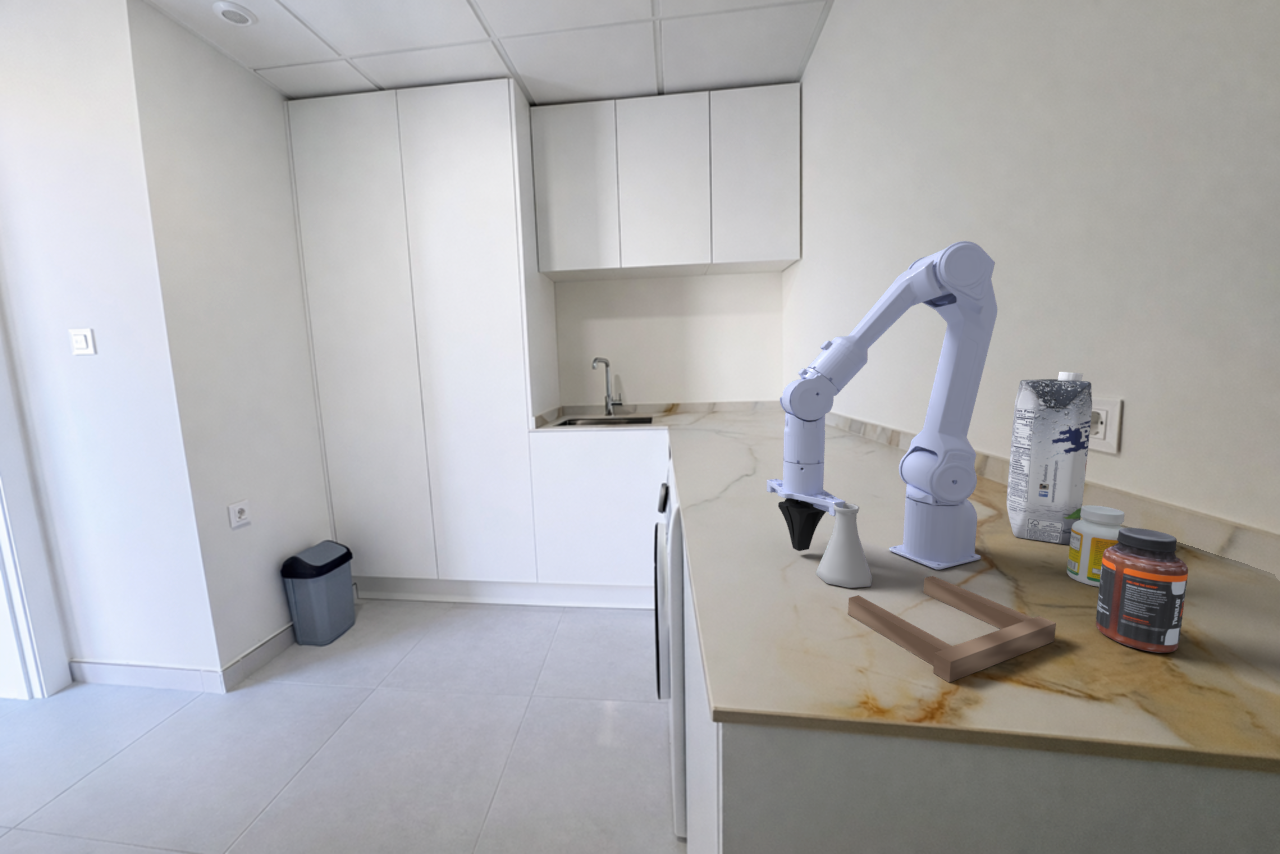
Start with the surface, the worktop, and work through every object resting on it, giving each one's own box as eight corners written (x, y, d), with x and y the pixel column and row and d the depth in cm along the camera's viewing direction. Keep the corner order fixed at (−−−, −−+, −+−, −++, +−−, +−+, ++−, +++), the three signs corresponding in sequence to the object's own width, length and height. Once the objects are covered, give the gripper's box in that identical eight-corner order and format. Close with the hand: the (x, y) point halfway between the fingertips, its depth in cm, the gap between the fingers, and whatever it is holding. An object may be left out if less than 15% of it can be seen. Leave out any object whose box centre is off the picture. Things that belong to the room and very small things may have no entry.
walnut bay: (937, 589, 60) (938, 574, 59) (1054, 641, 48) (1056, 622, 48) (841, 616, 54) (842, 599, 53) (949, 682, 42) (950, 662, 42)
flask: (880, 592, 59) (884, 515, 58) (819, 587, 61) (822, 512, 59) (865, 568, 66) (868, 499, 65) (811, 564, 68) (813, 497, 67)
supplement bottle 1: (1057, 575, 63) (1064, 506, 62) (1081, 568, 65) (1088, 501, 64) (1108, 592, 58) (1116, 517, 57) (1133, 585, 60) (1141, 512, 59)
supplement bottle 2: (1196, 660, 45) (1212, 546, 43) (1119, 651, 46) (1132, 541, 45) (1148, 627, 50) (1161, 525, 49) (1081, 620, 52) (1091, 521, 51)
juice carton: (1007, 538, 77) (1021, 372, 73) (1003, 520, 85) (1016, 371, 82) (1081, 549, 72) (1099, 372, 68) (1069, 529, 80) (1085, 371, 77)
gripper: (751, 454, 75) (750, 537, 76) (818, 472, 61) (814, 572, 63) (787, 451, 77) (785, 530, 79) (858, 467, 64) (854, 563, 66)
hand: (801, 548), depth 71 cm, fingers closed
